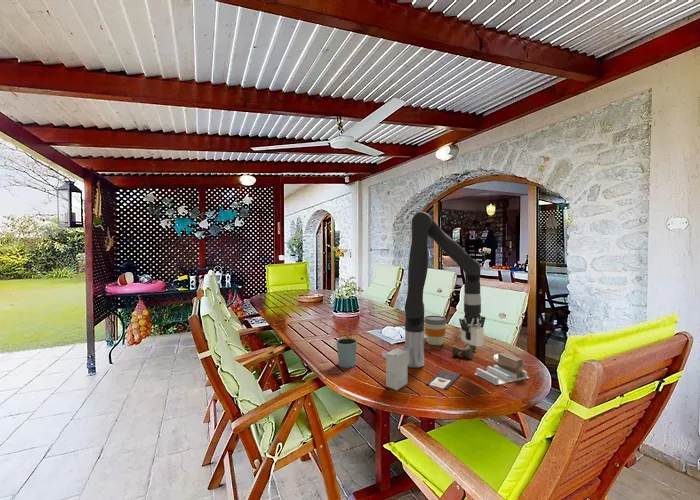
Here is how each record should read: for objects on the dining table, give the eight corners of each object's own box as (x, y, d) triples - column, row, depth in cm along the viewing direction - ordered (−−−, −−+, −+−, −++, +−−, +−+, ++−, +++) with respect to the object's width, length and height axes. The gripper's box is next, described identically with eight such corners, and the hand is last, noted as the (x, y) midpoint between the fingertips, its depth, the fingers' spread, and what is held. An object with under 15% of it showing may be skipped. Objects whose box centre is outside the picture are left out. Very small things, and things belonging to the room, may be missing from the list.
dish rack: (495, 387, 146) (495, 379, 146) (474, 375, 158) (474, 368, 158) (529, 379, 153) (529, 372, 153) (506, 369, 165) (506, 362, 165)
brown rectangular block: (515, 378, 152) (515, 360, 152) (498, 370, 162) (498, 353, 161) (522, 377, 154) (522, 359, 153) (504, 369, 163) (504, 352, 163)
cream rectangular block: (476, 346, 157) (476, 329, 157) (461, 340, 166) (461, 324, 166) (483, 345, 159) (483, 328, 158) (468, 339, 168) (468, 323, 168)
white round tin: (518, 363, 174) (518, 356, 174) (511, 369, 166) (511, 361, 166) (497, 358, 181) (497, 351, 180) (490, 364, 173) (490, 357, 173)
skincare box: (396, 380, 154) (396, 347, 153) (408, 384, 150) (408, 350, 149) (385, 386, 148) (385, 352, 147) (397, 391, 144) (396, 355, 143)
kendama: (480, 353, 190) (466, 362, 175) (463, 350, 196) (448, 358, 181) (480, 342, 190) (466, 350, 175) (463, 339, 196) (448, 347, 181)
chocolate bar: (460, 374, 159) (446, 388, 144) (460, 376, 159) (446, 390, 144) (441, 370, 164) (426, 383, 150) (441, 372, 164) (426, 385, 150)
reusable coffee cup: (447, 346, 200) (447, 320, 199) (425, 345, 202) (425, 320, 201) (444, 340, 212) (444, 315, 212) (423, 339, 214) (423, 315, 214)
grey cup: (360, 363, 175) (360, 339, 175) (350, 369, 167) (350, 345, 166) (343, 359, 181) (343, 336, 180) (332, 366, 172) (332, 342, 171)
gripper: (465, 305, 156) (465, 343, 156) (490, 302, 161) (490, 339, 162) (454, 302, 163) (454, 339, 163) (478, 300, 168) (478, 335, 169)
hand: (472, 339), depth 162 cm, fingers closed on cream rectangular block, 4 cm apart
